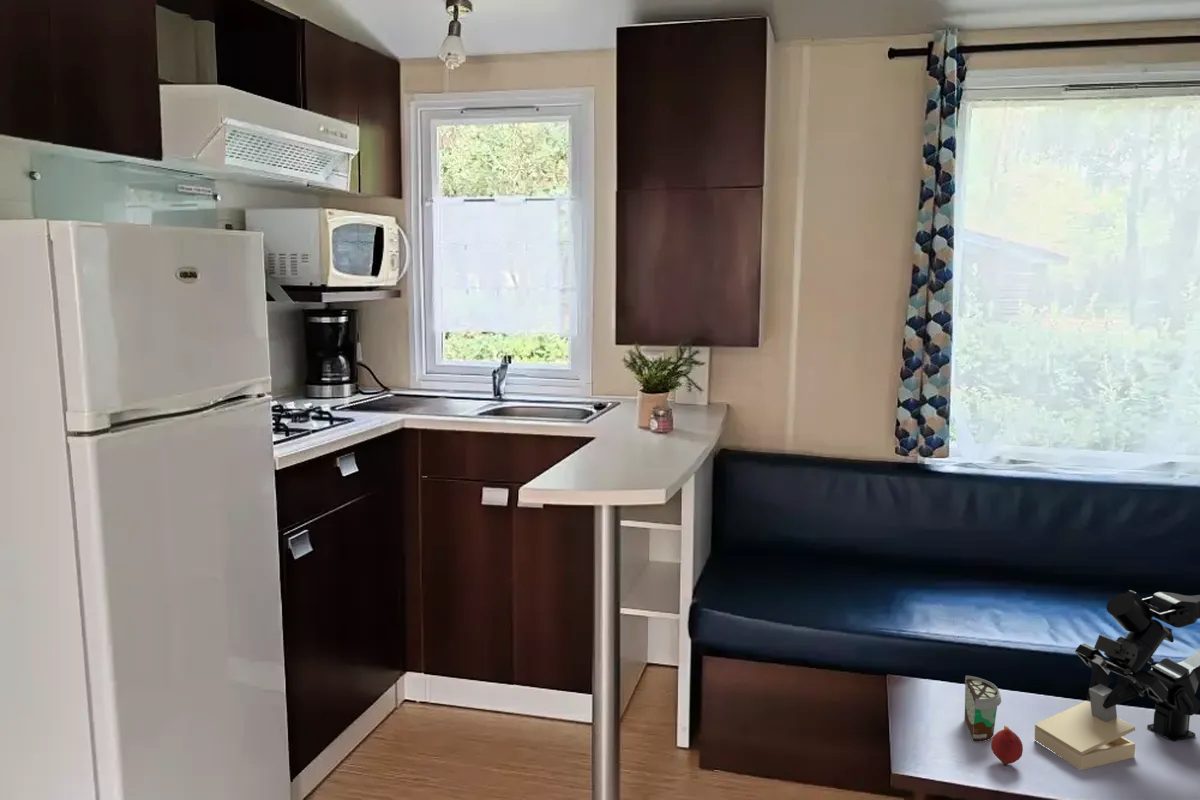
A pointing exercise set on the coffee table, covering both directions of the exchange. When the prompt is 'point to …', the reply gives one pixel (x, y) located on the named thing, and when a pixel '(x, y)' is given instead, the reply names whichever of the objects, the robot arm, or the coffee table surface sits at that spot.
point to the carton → (1097, 757)
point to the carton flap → (1086, 723)
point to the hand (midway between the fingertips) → (1096, 703)
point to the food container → (980, 707)
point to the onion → (1007, 746)
